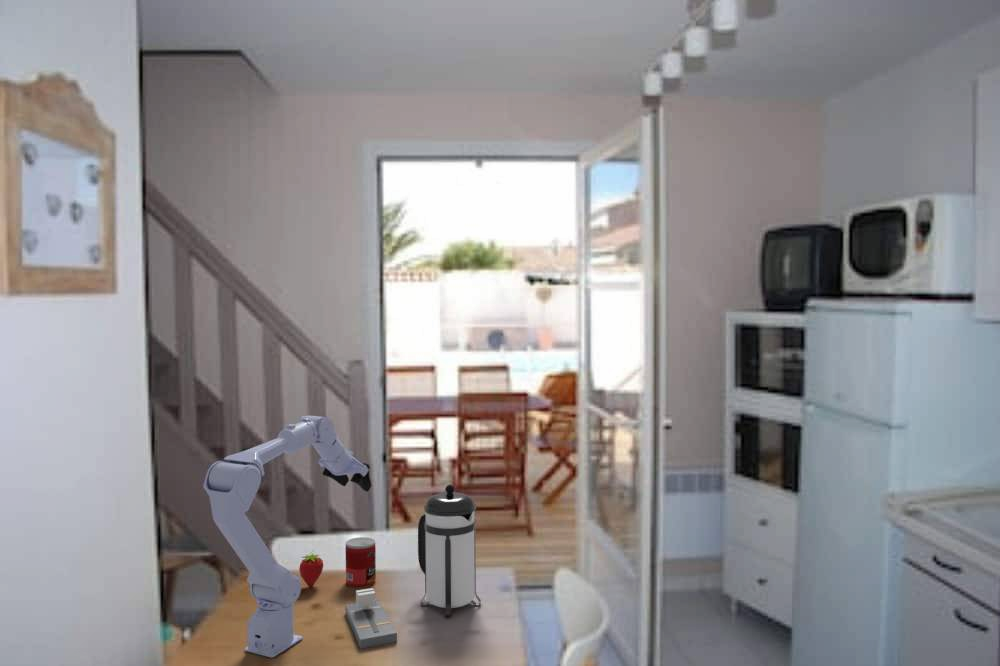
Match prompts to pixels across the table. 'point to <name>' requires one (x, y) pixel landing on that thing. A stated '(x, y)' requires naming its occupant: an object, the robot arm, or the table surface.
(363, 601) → the fader knob
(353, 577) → the canned food
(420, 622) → the table surface
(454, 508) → the coffee press
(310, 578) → the strawberry
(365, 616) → the fader board
